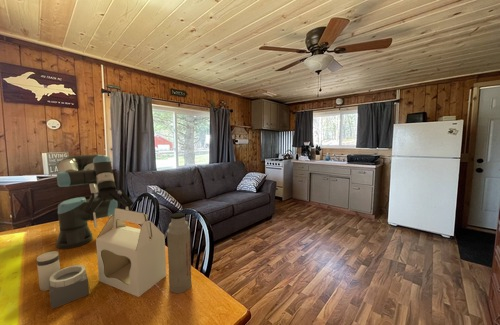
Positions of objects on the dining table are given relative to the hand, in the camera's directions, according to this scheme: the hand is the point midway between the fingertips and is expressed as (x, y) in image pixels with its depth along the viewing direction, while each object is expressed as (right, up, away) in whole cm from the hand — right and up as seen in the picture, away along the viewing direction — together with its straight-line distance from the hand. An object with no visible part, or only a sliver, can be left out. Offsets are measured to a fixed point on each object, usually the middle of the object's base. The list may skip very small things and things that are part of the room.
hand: (113, 223), depth 102 cm
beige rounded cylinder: (-11, -18, -20) cm, 29 cm away
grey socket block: (0, -18, -25) cm, 31 cm away
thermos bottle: (+39, -18, -21) cm, 48 cm away
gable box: (+19, -18, -16) cm, 30 cm away
